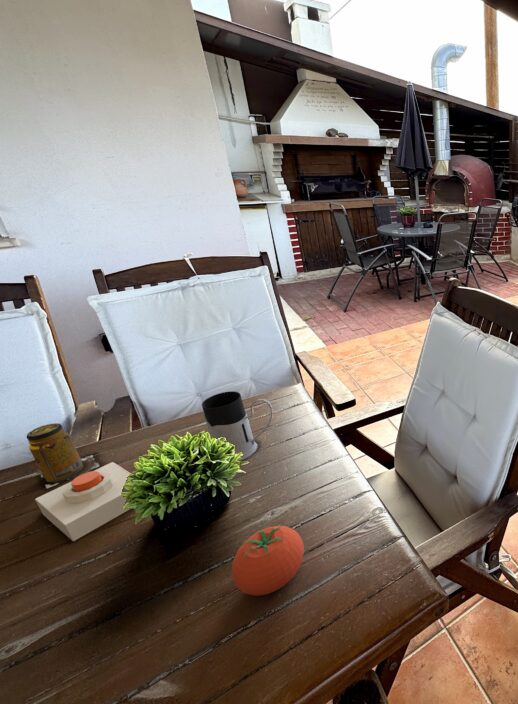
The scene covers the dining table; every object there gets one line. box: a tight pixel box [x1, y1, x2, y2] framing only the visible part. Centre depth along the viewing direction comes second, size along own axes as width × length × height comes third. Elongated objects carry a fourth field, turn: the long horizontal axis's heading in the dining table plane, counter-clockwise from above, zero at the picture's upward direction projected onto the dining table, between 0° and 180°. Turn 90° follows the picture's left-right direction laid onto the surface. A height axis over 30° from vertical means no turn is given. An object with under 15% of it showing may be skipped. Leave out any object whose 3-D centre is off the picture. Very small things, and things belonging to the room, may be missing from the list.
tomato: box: [231, 525, 305, 597], centre depth 66 cm, size 10×10×10 cm
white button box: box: [34, 461, 132, 542], centre depth 81 cm, size 14×12×6 cm
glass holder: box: [201, 390, 274, 461], centre depth 96 cm, size 9×14×15 cm, turn 105°
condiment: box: [26, 422, 100, 489], centre depth 89 cm, size 7×8×12 cm
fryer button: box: [70, 470, 102, 492], centre depth 80 cm, size 4×4×2 cm
